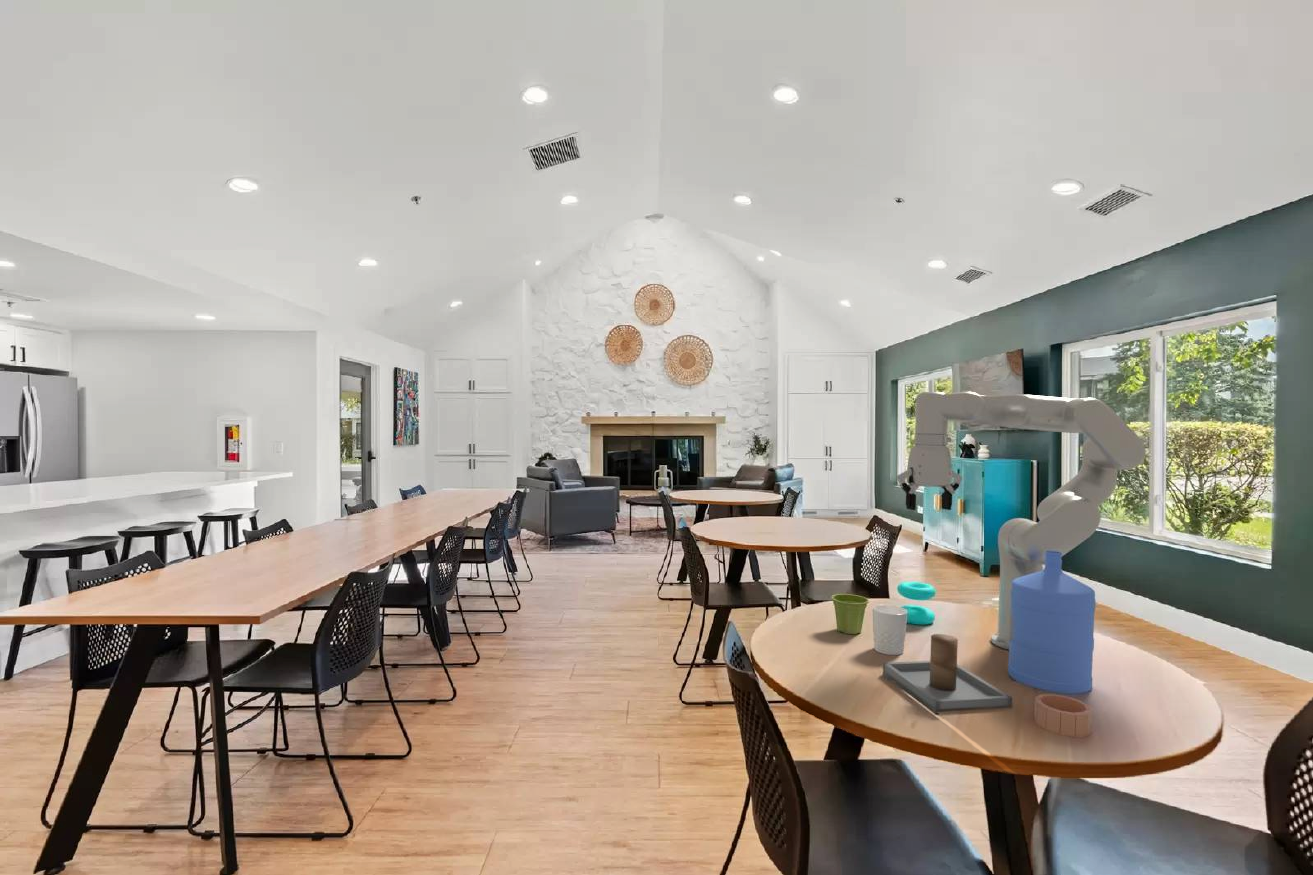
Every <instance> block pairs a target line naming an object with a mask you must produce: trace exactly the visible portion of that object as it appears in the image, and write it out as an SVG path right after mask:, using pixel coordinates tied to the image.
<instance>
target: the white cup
mask: <svg viewBox="0 0 1313 875" xmlns="http://www.w3.org/2000/svg"><path fill="white" fill-rule="evenodd" d="M901 607H902V606H896V605H892V604H891V605H890V604H879V605H874V606H872V632H873V633H872V634H873V635H872V637H873V642H874V643H873V648H874V650H875V651H876V652H878V653H879V654H882V655H888V656H899V655H902V654H904V648H905V647H904V646H905V641H906V632H907V624H908V623H907V610H906V609H904V608H901Z"/></svg>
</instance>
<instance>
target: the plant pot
mask: <svg viewBox="0 0 1313 875" xmlns="http://www.w3.org/2000/svg"><path fill="white" fill-rule="evenodd" d="M830 598H831V600H832V603H833V606H834V613H835V619H836V622H835V623H836V630H837V631H838V632H842V633H843V634H846V635H858V634H860V633H862V631H863V630H862V628H863V623H864V619H865V618H864V617H865V612H866V608H867V606H868V603H869V602H870V599H869V598H868V597H864V596H862V595H857V594H849V593H838V594H833V595H831V597H830Z"/></svg>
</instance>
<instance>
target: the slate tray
mask: <svg viewBox="0 0 1313 875" xmlns="http://www.w3.org/2000/svg"><path fill="white" fill-rule="evenodd" d="M882 675H883V676H885V677H886V678H887V679H889V680H890V681H891V682H892V683H893V684H895V685H896V686H898V687H899V688H900V689H902V690H903V691H904V692H906V693H907V694H908V695H910V697H912V698H913V699H915V701H917V702H918V703H920V704H921V705H922V706H924V707H925V708H926V709H928V710H929V711H930V712H932V714H934V715H939V713H938V712H952V711H953V712H954V711H955V712H957V711H975V710H990V709H991V710H992V709H1007V708H1008V709H1011V708H1013V697H1012V696H1010V695H1009V694H1008V693H1006V692H1004V691H1002V690H1001V689H999V688H998V687H995V686H994V685H992V684H991V683H989V682H988V681H985V679H983V678H982V677H979V676H977V675H976V674H974V673H972V672H971V671H969V670H967V669H966V668H965V667H962V666H961V665H959V664H958V663H957V675H956V690H954V691H941V690H937V689H935V688H933V687H931V686H930V660H917V661H916V660H915V661H899V662H898V661H896V662H893V661H892V662H883V663H882Z"/></svg>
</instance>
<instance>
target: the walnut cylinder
mask: <svg viewBox="0 0 1313 875" xmlns="http://www.w3.org/2000/svg"><path fill="white" fill-rule="evenodd" d="M958 641H959V640H958V638H957V637H955V636H952V635H949V634H945V633H944V634H942V633H935V634H932V635H931V636H930V656H929V657H930V658H929V661H930V686H931V687H933V688H935V689H937V690H941V691H954V690H956V675H957V664H958V647H959V646H958V644H959V643H958Z"/></svg>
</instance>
